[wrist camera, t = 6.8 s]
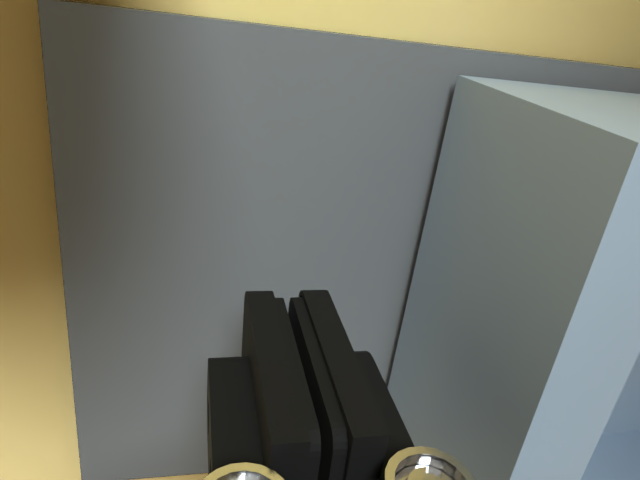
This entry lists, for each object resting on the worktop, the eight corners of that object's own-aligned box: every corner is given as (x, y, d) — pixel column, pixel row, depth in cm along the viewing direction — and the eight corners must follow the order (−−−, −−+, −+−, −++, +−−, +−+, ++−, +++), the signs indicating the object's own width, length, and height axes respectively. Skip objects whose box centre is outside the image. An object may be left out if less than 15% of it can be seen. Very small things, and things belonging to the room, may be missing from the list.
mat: (42, -3, 10) (37, -2, 9) (874, 96, 15) (891, 99, 14) (84, 471, 15) (82, 483, 14) (693, 424, 20) (703, 432, 19)
